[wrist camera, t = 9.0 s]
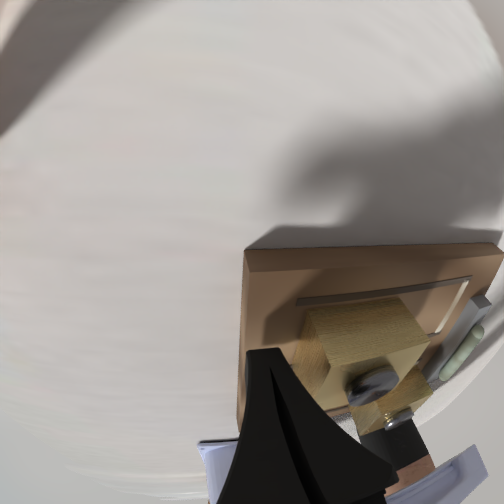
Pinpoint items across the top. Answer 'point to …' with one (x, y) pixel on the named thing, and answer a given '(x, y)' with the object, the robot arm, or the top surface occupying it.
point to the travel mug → (400, 453)
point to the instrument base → (368, 297)
